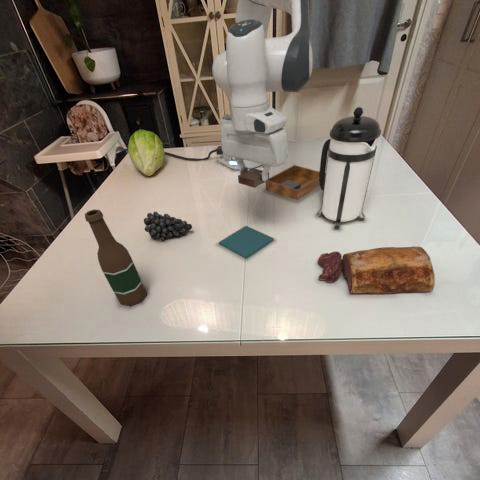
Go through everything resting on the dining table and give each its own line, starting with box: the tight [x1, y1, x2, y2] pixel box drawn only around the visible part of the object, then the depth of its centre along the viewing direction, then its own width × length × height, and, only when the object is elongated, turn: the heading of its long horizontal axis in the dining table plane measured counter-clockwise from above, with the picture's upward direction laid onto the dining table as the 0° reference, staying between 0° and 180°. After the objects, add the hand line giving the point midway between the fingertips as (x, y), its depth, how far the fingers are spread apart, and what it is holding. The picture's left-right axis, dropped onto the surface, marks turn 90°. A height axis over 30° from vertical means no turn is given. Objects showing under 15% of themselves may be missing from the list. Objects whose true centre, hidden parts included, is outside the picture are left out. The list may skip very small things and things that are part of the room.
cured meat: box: [317, 246, 436, 295], centre depth 75 cm, size 18×25×7 cm
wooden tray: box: [264, 164, 321, 201], centre depth 112 cm, size 15×17×4 cm
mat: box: [218, 225, 275, 259], centre depth 91 cm, size 12×12×1 cm
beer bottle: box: [84, 208, 148, 307], centre depth 70 cm, size 8×8×24 cm
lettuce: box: [127, 128, 166, 177], centre depth 136 cm, size 15×24×16 cm
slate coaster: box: [281, 180, 301, 190], centre depth 111 cm, size 6×6×2 cm
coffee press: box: [316, 106, 382, 230], centre depth 86 cm, size 17×16×30 cm
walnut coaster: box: [237, 167, 270, 189], centre depth 81 cm, size 6×6×2 cm
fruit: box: [143, 211, 193, 242], centre depth 95 cm, size 9×8×15 cm
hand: (253, 177), depth 81 cm, fingers closed on walnut coaster, 6 cm apart
